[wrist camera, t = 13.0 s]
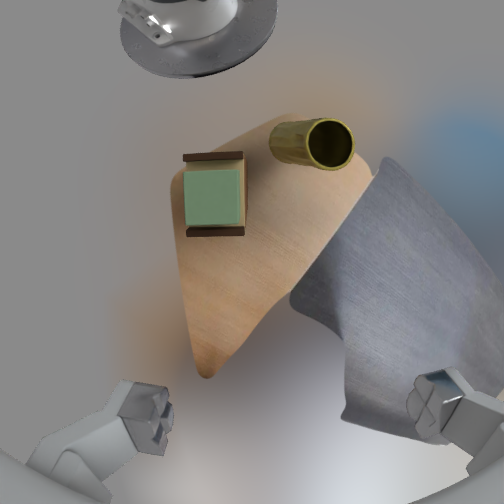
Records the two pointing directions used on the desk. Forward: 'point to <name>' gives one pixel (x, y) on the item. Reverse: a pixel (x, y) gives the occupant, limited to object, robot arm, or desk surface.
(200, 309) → the desk surface
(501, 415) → the robot arm
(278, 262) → the desk surface
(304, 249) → the desk surface
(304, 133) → the vase
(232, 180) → the green pad
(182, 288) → the desk surface
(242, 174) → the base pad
